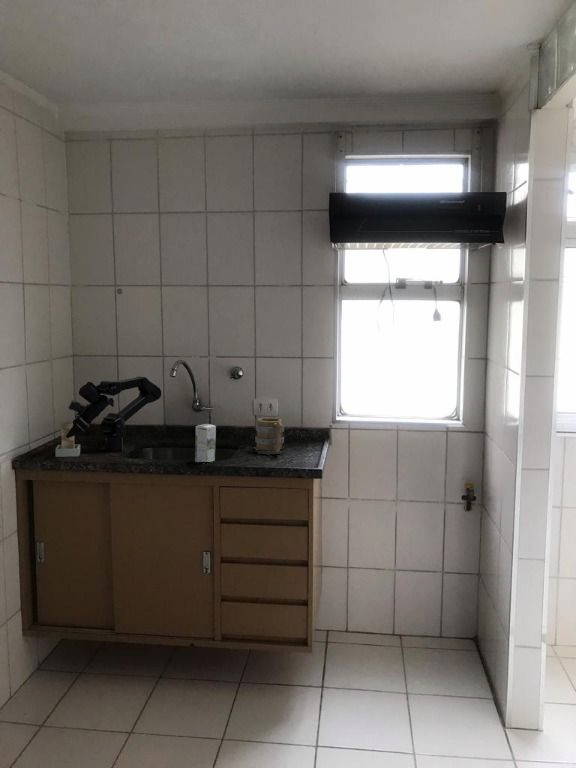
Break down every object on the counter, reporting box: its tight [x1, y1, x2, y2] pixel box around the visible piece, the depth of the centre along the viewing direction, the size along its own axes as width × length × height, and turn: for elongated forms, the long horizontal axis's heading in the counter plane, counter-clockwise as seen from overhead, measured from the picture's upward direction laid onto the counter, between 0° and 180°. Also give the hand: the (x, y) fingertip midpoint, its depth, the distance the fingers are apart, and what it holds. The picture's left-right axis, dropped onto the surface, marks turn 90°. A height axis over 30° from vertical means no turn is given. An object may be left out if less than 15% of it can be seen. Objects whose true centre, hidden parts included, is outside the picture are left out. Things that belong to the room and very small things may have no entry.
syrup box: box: [194, 423, 217, 463], centre depth 255 cm, size 6×6×14 cm
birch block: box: [60, 420, 76, 449], centre depth 263 cm, size 4×4×13 cm
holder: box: [55, 443, 81, 458], centre depth 263 cm, size 9×9×3 cm
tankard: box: [253, 417, 285, 452], centre depth 273 cm, size 20×13×15 cm, turn 18°
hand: (67, 435), depth 262 cm, fingers open, 9 cm apart
